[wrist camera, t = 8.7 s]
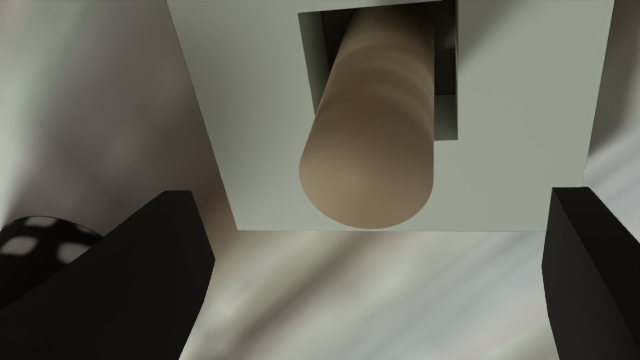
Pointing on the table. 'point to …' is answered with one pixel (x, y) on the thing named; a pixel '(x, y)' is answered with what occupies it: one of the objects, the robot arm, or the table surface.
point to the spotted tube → (37, 253)
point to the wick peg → (375, 121)
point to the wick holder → (449, 110)
